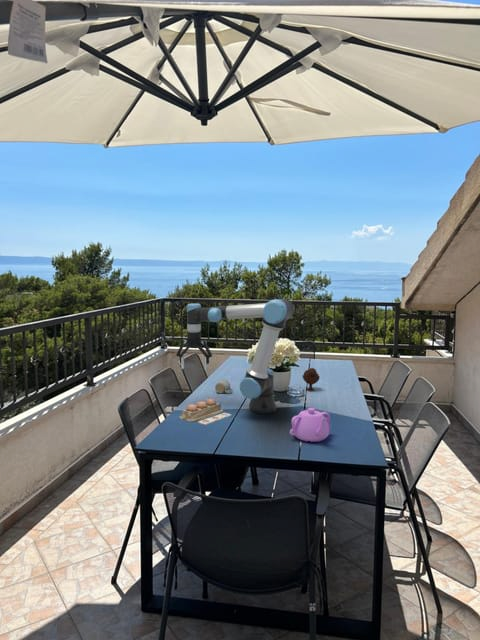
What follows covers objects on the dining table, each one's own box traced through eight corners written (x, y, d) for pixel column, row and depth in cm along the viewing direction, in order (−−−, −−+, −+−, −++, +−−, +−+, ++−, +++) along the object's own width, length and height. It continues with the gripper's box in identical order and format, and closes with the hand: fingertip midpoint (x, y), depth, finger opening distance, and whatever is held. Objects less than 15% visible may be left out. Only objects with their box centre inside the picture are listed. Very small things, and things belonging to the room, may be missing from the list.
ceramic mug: (214, 393, 290) (214, 381, 289) (219, 390, 297) (219, 378, 297) (229, 395, 286) (230, 383, 285) (234, 392, 294) (235, 380, 293)
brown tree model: (321, 389, 302) (322, 367, 300) (314, 393, 292) (315, 370, 291) (306, 387, 307) (307, 365, 306) (299, 390, 298) (300, 368, 296)
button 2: (216, 405, 251) (216, 399, 251) (210, 407, 248) (210, 401, 248) (210, 404, 254) (210, 397, 254) (204, 405, 251) (204, 399, 251)
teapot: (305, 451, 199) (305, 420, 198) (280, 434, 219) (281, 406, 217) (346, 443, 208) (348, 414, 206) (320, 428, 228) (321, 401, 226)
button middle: (207, 408, 246) (207, 402, 246) (201, 410, 243) (201, 404, 242) (201, 406, 249) (201, 400, 249) (195, 408, 246) (195, 402, 245)
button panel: (223, 412, 252) (223, 404, 251) (192, 422, 234) (192, 413, 234) (209, 408, 258) (209, 400, 258) (179, 418, 241) (179, 409, 240)
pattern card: (231, 415, 246) (231, 414, 246) (205, 424, 231) (205, 423, 231) (224, 413, 249) (224, 412, 249) (198, 422, 234) (198, 421, 234)
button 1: (198, 411, 241) (198, 405, 240) (192, 413, 237) (192, 407, 237) (192, 409, 244) (192, 403, 243) (185, 411, 240) (185, 405, 240)
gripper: (217, 331, 257) (217, 368, 259) (174, 330, 262) (175, 366, 264) (214, 332, 249) (214, 371, 252) (170, 331, 254) (170, 369, 257)
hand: (194, 369), depth 258 cm, fingers open, 13 cm apart
